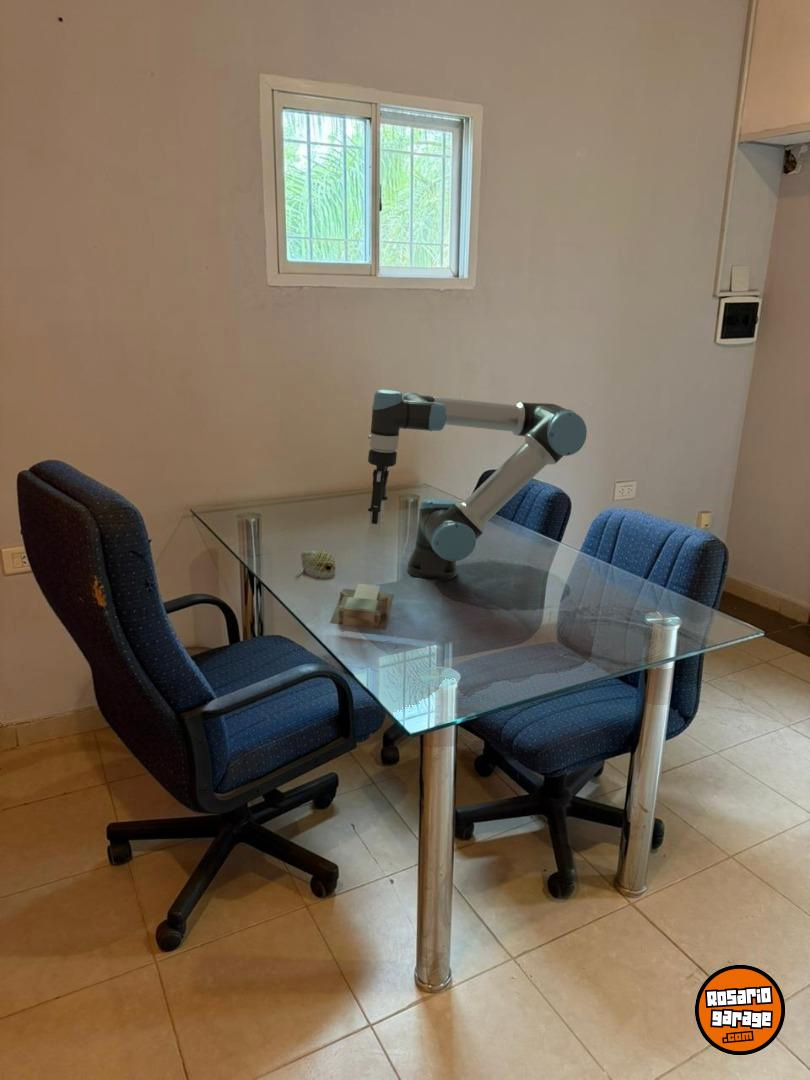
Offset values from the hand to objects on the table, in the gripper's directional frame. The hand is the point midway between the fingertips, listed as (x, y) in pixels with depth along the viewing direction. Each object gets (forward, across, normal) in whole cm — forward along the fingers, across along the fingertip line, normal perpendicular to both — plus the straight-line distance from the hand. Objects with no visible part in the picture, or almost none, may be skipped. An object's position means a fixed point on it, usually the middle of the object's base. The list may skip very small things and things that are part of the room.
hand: (375, 528), depth 206 cm
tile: (+17, +11, 0) cm, 20 cm away
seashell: (+18, -5, -16) cm, 25 cm away
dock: (+18, +17, 0) cm, 25 cm away
